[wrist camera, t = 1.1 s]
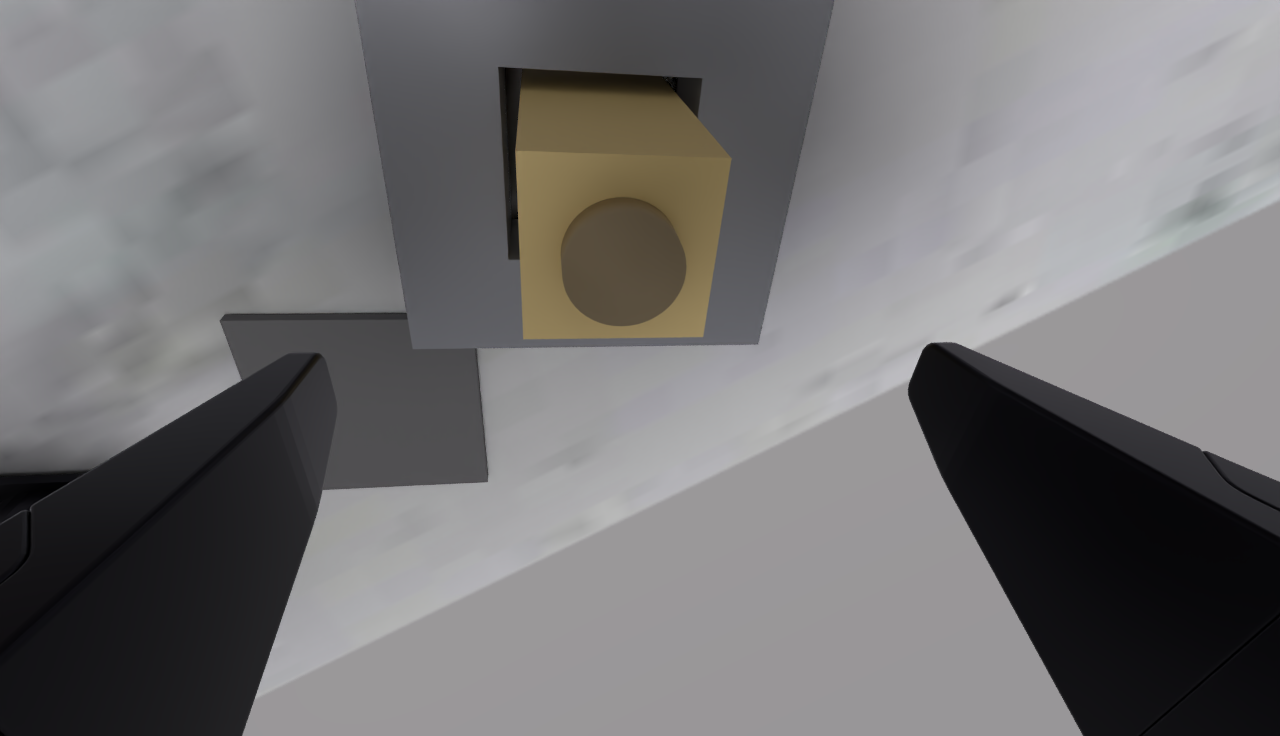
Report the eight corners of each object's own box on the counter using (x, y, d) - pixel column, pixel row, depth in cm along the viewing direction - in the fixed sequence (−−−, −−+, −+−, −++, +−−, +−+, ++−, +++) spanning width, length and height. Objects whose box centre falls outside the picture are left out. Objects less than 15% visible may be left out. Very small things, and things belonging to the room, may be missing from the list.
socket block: (426, 300, 21) (412, 349, 19) (369, -100, 15) (336, -106, 12) (734, 300, 23) (758, 344, 20) (801, -59, 16) (847, -57, 14)
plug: (526, 204, 20) (522, 360, 13) (522, 67, 17) (514, 164, 10) (649, 206, 20) (711, 357, 13) (661, 74, 18) (743, 171, 11)
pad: (286, 484, 25) (283, 491, 25) (224, 314, 20) (219, 320, 20) (488, 475, 26) (487, 482, 26) (472, 313, 22) (471, 319, 21)
